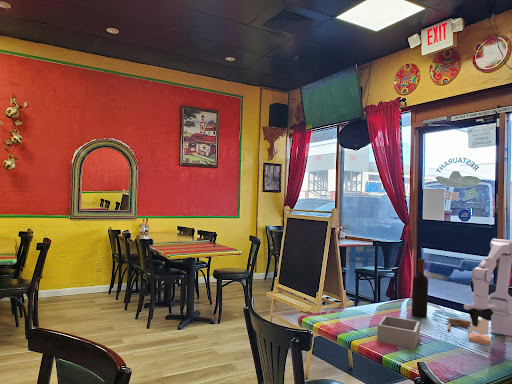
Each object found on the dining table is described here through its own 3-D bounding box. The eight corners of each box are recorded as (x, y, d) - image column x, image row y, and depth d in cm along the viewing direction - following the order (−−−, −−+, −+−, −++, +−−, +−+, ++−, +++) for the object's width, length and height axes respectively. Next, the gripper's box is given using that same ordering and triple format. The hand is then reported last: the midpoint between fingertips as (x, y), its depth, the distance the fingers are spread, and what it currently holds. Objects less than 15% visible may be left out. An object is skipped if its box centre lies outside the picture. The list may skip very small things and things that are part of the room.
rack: (470, 327, 194) (470, 321, 194) (470, 335, 181) (471, 328, 181) (448, 323, 198) (448, 317, 198) (447, 331, 186) (447, 324, 186)
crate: (419, 337, 175) (419, 321, 175) (415, 349, 160) (415, 331, 160) (384, 330, 182) (384, 315, 182) (377, 341, 167) (377, 324, 167)
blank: (478, 330, 178) (479, 316, 179) (488, 334, 173) (488, 320, 173) (470, 329, 178) (471, 316, 178) (479, 334, 172) (480, 320, 172)
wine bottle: (412, 316, 207) (414, 259, 208) (410, 312, 215) (413, 257, 215) (427, 318, 205) (430, 260, 206) (426, 314, 212) (428, 258, 213)
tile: (489, 339, 177) (489, 335, 177) (490, 344, 170) (490, 341, 170) (468, 335, 181) (468, 332, 181) (469, 340, 174) (469, 337, 174)
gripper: (489, 293, 180) (488, 323, 180) (459, 292, 179) (458, 322, 178) (500, 297, 173) (499, 328, 173) (470, 296, 172) (469, 327, 171)
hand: (479, 325), depth 175 cm, fingers closed on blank, 4 cm apart
